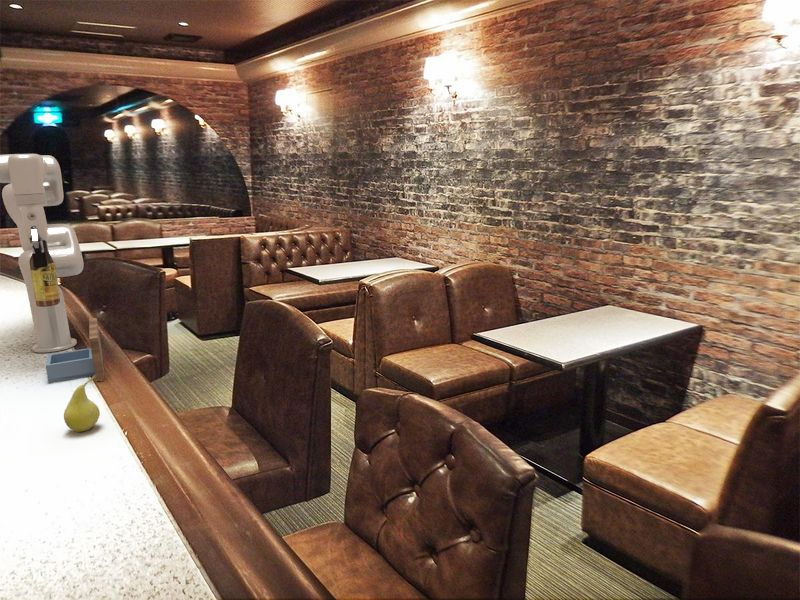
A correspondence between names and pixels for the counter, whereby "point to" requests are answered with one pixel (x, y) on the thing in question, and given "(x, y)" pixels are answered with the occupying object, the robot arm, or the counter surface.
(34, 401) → the counter surface
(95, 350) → the back board
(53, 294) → the sauce bottle
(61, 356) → the caddy
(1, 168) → the robot arm
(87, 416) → the fruit
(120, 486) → the counter surface
